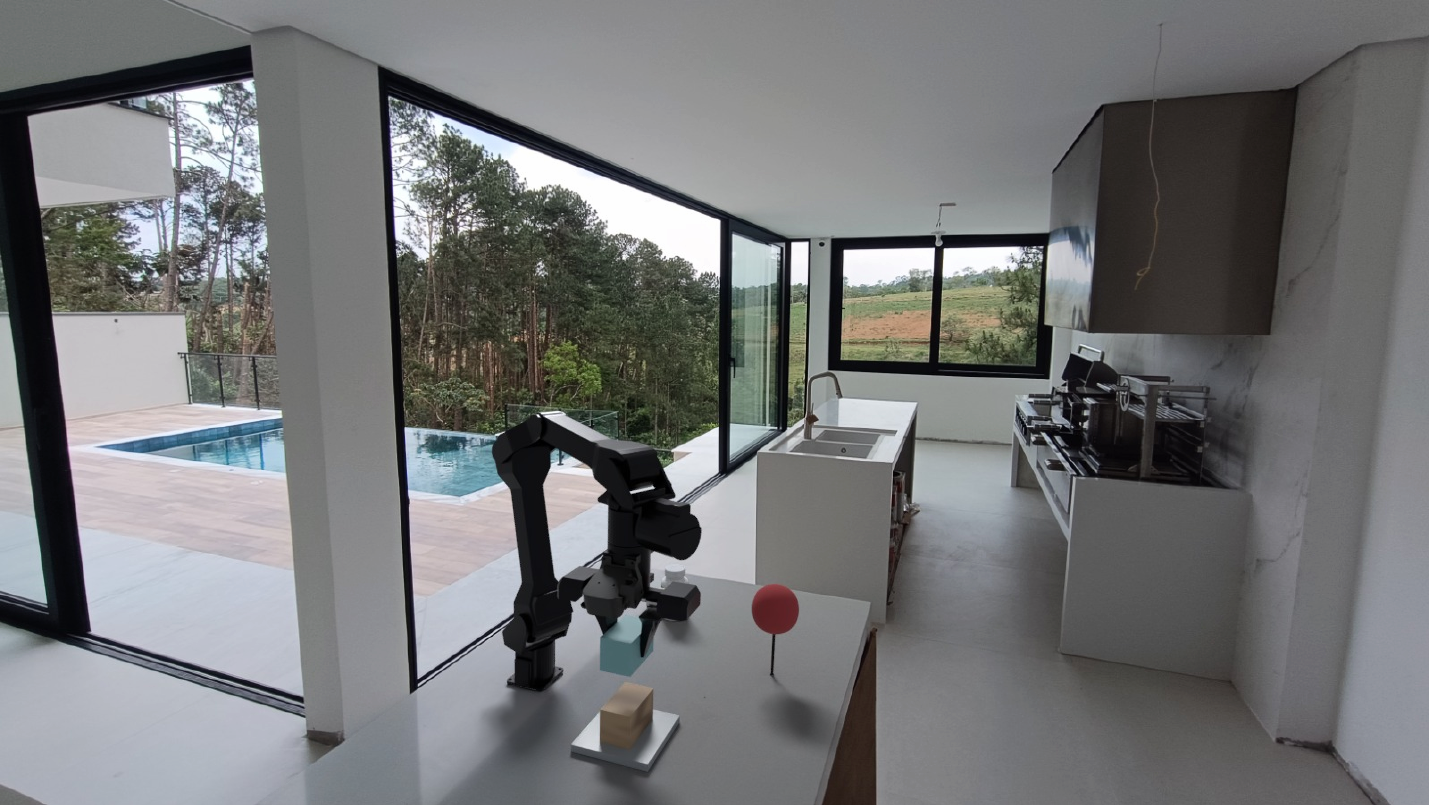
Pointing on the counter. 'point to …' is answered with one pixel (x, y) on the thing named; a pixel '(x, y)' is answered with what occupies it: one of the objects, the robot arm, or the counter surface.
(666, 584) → the supplement bottle
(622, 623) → the teal brick
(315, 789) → the counter surface
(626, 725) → the walnut brick
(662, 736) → the base plate
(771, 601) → the lollipop
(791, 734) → the counter surface
